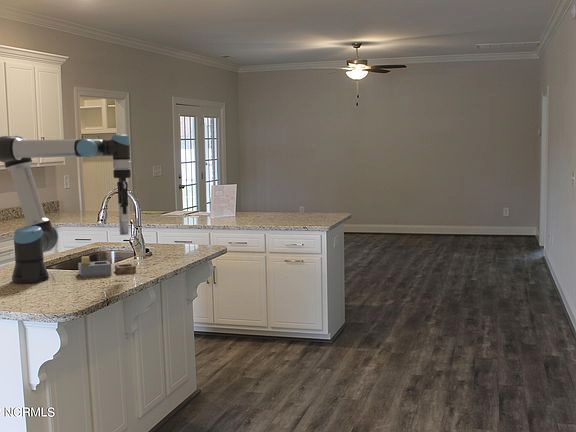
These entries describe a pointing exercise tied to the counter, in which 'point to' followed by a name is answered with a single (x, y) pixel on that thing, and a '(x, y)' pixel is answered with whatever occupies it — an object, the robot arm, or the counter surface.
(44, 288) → the counter surface
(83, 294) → the counter surface
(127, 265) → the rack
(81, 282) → the counter surface
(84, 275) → the chuck block
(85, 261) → the tan rectangular block
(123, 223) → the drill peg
